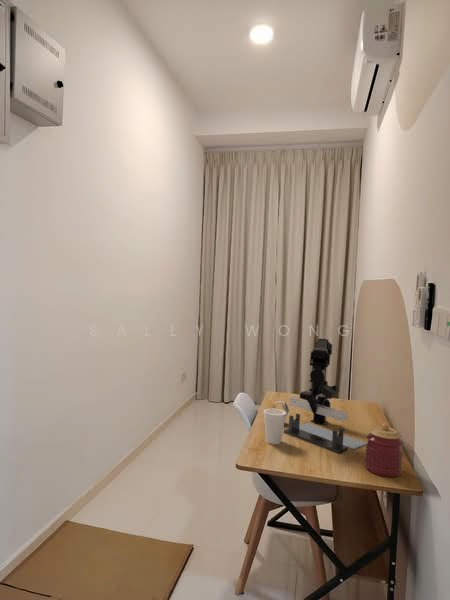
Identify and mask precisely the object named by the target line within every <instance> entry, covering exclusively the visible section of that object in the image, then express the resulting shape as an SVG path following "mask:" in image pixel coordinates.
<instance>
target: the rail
mask: <svg viewBox="0 0 450 600" xmlns="http://www.w3.org/2000/svg"><path fill="white" fill-rule="evenodd" d="M289 406H291V407H295V408H299V409H301V410H305V411H308V412H311V413H313V412H312V410H311V407H310V405H309V403H308V401H307V400H304V399H301V398H300V397H296V396H293V397H290V398H289ZM316 413H317V414H320V415H323V416H326V418H330V419H333V420H336V421H339V422H341V423H342V422H346V421H347V420H348V412H345V411H343V410H339V409H336V408H332V407H331V406H330V407H326V406H323V405H319V404H317V408H316Z"/></svg>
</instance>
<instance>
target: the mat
mask: <svg viewBox="0 0 450 600" xmlns="http://www.w3.org/2000/svg"><path fill="white" fill-rule="evenodd" d="M299 429H300V430H302V431H305V432H308V433H311V434H313V435H316V436H319V437H322V438H324V439H327V440H330V441H332V437H333V430H330V429H327V428H324V427H320V426H317V425H315V424H312V423H309V422H306V423H303V424H299ZM337 434H339V432H337ZM366 443H367V442H365V441H361V440H360V439H359V440H358V439H356V438H353V437H350V436H348V435H344V434H343V445H344V446H347V447H348V449H350V450H352V449H353V450H354V451H355V450H357V449H360V448H361V447H364V446H366ZM359 447H360V448H359Z"/></svg>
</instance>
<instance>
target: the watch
mask: <svg viewBox="0 0 450 600" xmlns="http://www.w3.org/2000/svg"><path fill="white" fill-rule="evenodd" d="M277 404H281V405H282V408H283V411H285V412H286V417H287V416H288V414H289V412H290V409H289V407H288V404H287V403H286V402H284V400H283V401H282V400H278V401H276V402H274V404H273V405H272V409H276V408H275V405H277ZM285 423H286V421H285V422H284V424H285Z"/></svg>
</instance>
